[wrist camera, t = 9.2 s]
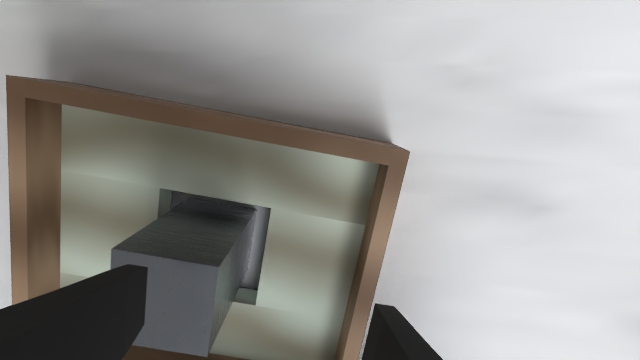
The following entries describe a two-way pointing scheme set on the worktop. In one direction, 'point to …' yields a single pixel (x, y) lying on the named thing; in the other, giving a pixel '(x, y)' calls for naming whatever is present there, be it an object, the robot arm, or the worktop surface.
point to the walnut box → (211, 181)
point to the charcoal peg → (189, 272)
